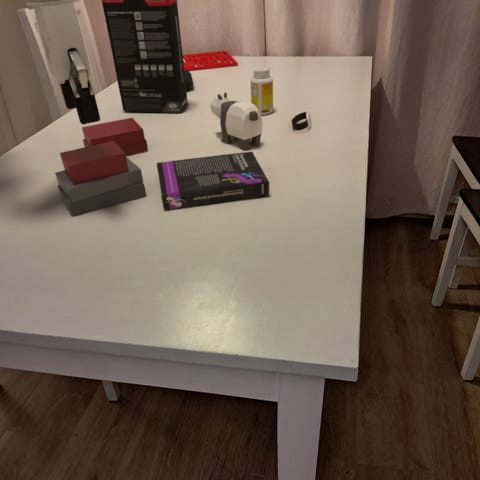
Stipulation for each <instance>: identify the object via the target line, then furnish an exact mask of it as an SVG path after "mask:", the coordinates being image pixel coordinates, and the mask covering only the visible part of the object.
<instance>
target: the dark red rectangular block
mask: <svg viewBox="0 0 480 480" xmlns="http://www.w3.org/2000/svg"><path fill="white" fill-rule="evenodd" d="M59 157H60V159H61V162H62V166H63V169H64V170H65V171H66V173H67V175H68V176H69V178H70V179H71V181H72V183H73V184H74V185H76V184H80V183H84V182H88V181H92V180H96V179H100V178H104V177H108V176H112V175H116V174H120V173H124V172H128V171H129V169H128V164H127V160H126V157H127V156H126V155H125V152H124V151H123V150H122V149H121V148H120V147H119V146H118V145H117V144H116V143H115V142H114V141H111V142H107V143H102V144H98V145H93V146H89V147H79V148H76V149H72V150H67V151H63V152H59Z"/></svg>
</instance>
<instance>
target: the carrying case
mask: <svg viewBox="0 0 480 480" xmlns="http://www.w3.org/2000/svg"><path fill="white" fill-rule="evenodd" d="M184 72H185V82H186V91H187V92H188V91H191V90H192V89H193V87H194V80H193V76H192V75H193V74H192V73H191V72H190V70H184Z"/></svg>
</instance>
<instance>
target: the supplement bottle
mask: <svg viewBox="0 0 480 480" xmlns="http://www.w3.org/2000/svg"><path fill="white" fill-rule="evenodd" d="M252 75H253V76H252V77H251V78H250V103H252V104H254V105H255V106H256V107H257V109H258V110H259V112H260V114H261V116H266V115H270V114H272V112H274V78H273V76H271V70H270V67H267V66H256V67H254V68H253V74H252Z"/></svg>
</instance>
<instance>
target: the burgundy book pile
mask: <svg viewBox="0 0 480 480" xmlns="http://www.w3.org/2000/svg"><path fill="white" fill-rule="evenodd" d="M81 130H82V134H83V139H82V143H83V146H84V147H89V146H93V145H98V144H102V143H107V142H111V141H114V142H115V143H116V144H117V145H118V146H119V147H120V148H121V149H122V150H123V151H124V152H125V155H126V157H128V156H133V155H138V154H142V153H146V152H149V147H148V142H147V139H146V138H145V132H144V128H143V127H142V126H141V125H140V124H139V123H138V121H136V120H135V119H134V118H133V117H129V118H122V119H117V120H113V121H107V122H101V123H98V124H97V123H96V124H91V125H87V126H81ZM84 147H83V148H84Z"/></svg>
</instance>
